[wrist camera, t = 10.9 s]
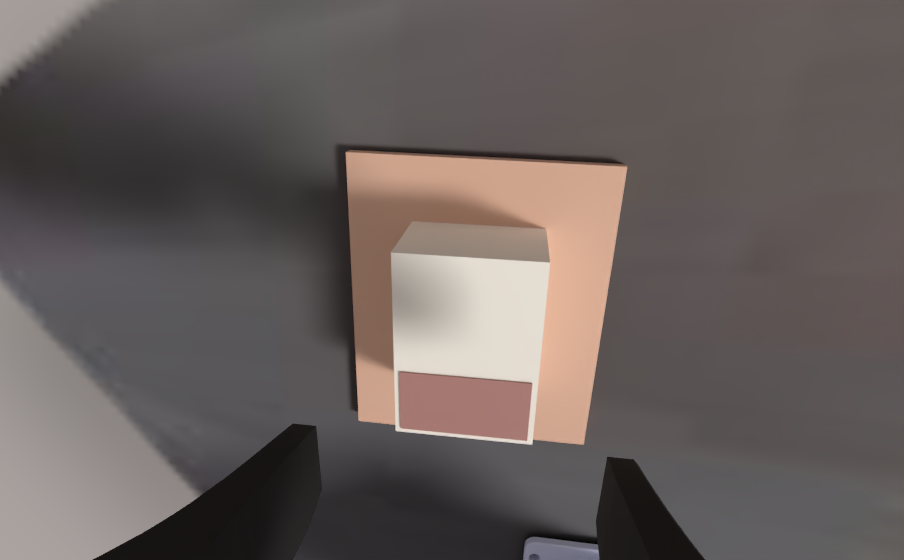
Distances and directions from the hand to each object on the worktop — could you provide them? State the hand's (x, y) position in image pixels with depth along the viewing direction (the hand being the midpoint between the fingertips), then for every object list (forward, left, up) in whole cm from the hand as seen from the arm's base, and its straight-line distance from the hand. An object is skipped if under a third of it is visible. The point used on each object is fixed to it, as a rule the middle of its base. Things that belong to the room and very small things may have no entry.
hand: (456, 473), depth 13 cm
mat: (0, 0, -9) cm, 9 cm away
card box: (0, 0, -9) cm, 9 cm away
